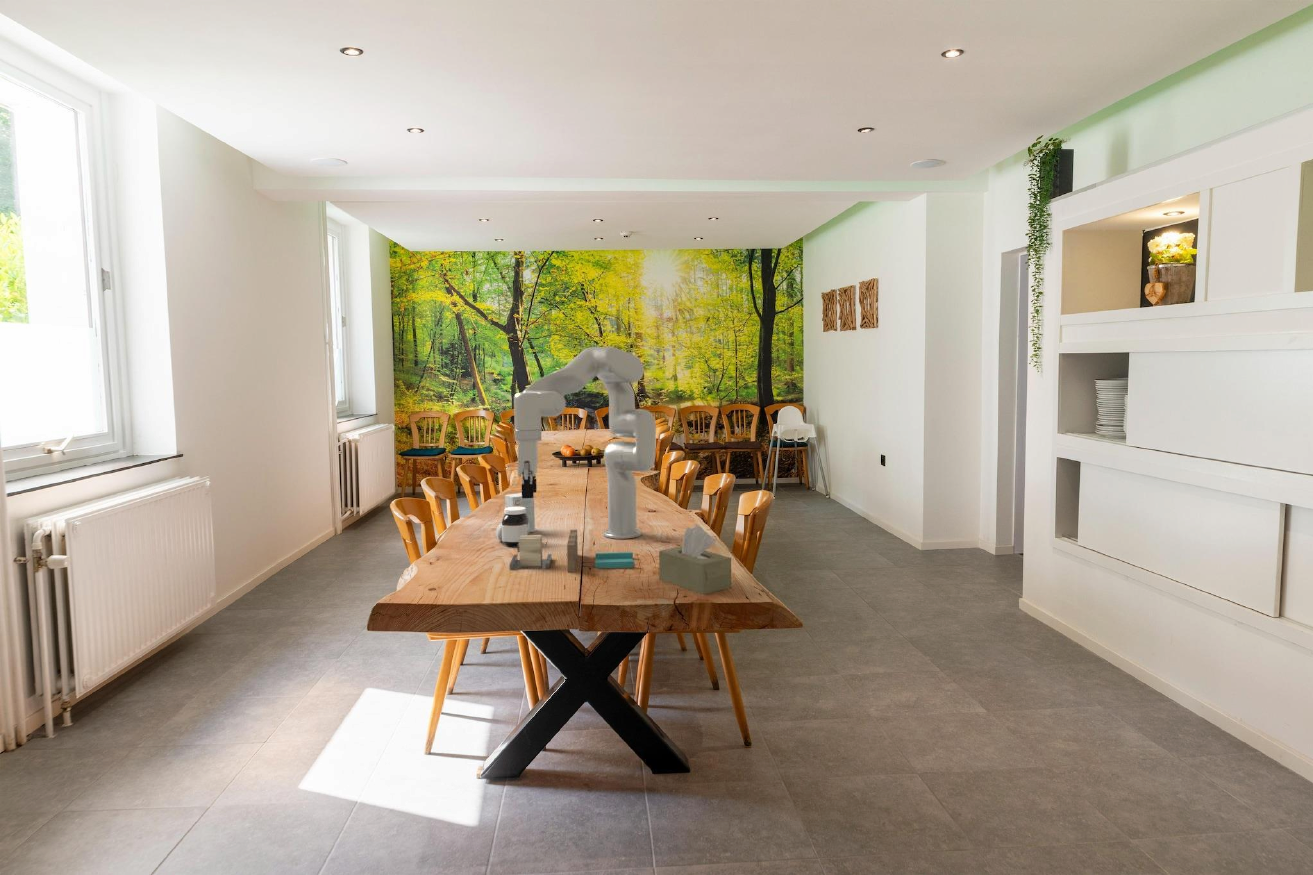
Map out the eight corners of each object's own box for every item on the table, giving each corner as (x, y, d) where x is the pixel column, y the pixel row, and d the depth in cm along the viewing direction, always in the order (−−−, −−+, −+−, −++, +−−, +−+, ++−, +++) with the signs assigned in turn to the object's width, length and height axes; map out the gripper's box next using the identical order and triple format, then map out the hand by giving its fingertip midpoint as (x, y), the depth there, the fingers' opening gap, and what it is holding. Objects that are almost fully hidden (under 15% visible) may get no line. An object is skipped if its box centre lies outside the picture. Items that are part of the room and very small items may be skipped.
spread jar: (522, 548, 257) (521, 511, 256) (488, 547, 259) (487, 510, 258) (534, 539, 269) (533, 504, 267) (501, 538, 270) (500, 504, 269)
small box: (526, 528, 285) (525, 492, 284) (535, 531, 280) (534, 494, 279) (505, 531, 281) (504, 494, 279) (514, 535, 276) (513, 497, 274)
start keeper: (514, 560, 240) (514, 554, 240) (551, 559, 241) (551, 554, 241) (509, 570, 230) (509, 564, 229) (548, 569, 230) (548, 563, 230)
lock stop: (519, 562, 237) (518, 535, 236) (542, 561, 238) (541, 535, 237) (517, 566, 233) (517, 538, 232) (541, 565, 233) (540, 538, 232)
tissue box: (732, 588, 211) (732, 528, 209) (703, 595, 205) (703, 533, 203) (686, 573, 225) (685, 517, 224) (658, 579, 220) (657, 521, 218)
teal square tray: (595, 568, 231) (594, 562, 231) (595, 558, 242) (595, 552, 242) (633, 567, 231) (633, 561, 231) (632, 558, 242) (632, 552, 242)
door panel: (571, 555, 246) (570, 529, 245) (577, 555, 246) (577, 529, 245) (567, 573, 226) (567, 545, 225) (574, 573, 226) (574, 544, 225)
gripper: (518, 433, 240) (519, 490, 242) (511, 438, 223) (512, 500, 224) (543, 432, 240) (544, 490, 242) (538, 438, 223) (540, 500, 225)
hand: (529, 495), depth 233 cm, fingers open, 9 cm apart
